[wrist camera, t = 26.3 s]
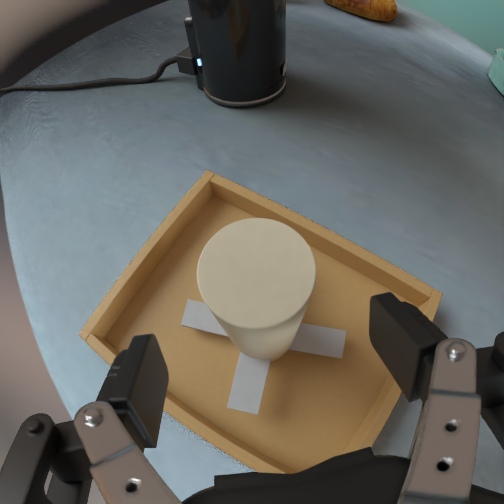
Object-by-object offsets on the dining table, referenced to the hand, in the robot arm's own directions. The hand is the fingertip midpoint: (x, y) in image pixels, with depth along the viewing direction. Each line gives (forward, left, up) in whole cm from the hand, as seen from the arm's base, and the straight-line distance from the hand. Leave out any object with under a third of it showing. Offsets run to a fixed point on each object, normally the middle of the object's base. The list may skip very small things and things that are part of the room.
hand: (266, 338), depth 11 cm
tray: (-2, +2, -10) cm, 10 cm away
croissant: (-16, +62, -10) cm, 64 cm away
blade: (-1, +2, -9) cm, 9 cm away
